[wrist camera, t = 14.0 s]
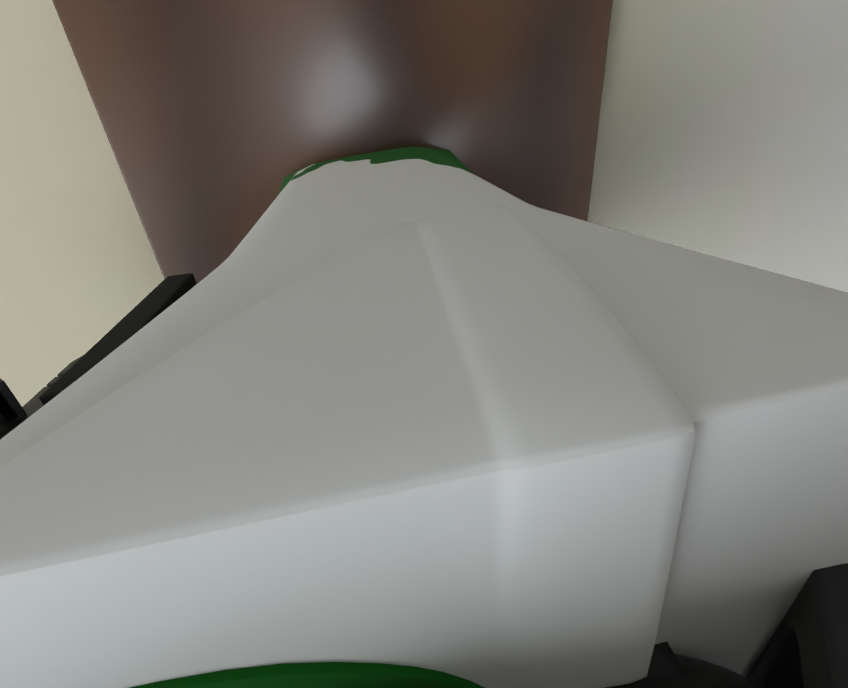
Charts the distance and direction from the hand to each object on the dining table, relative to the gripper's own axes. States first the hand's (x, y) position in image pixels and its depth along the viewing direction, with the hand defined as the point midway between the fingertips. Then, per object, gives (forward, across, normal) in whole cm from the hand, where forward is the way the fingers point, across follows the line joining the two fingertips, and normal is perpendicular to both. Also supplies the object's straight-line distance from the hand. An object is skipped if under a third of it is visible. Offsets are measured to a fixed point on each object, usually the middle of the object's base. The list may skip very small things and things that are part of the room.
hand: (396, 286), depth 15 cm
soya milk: (+6, 0, 0) cm, 6 cm away
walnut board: (+6, 0, 0) cm, 6 cm away
